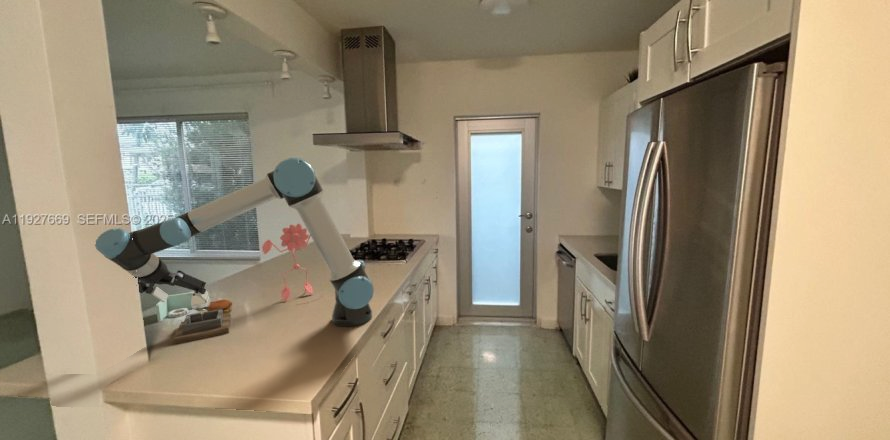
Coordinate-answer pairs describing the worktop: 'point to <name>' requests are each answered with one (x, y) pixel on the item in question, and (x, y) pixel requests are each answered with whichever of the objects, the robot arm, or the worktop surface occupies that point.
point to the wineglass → (200, 304)
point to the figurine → (293, 240)
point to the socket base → (203, 326)
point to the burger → (221, 306)
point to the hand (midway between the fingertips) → (186, 297)
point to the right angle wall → (174, 306)
